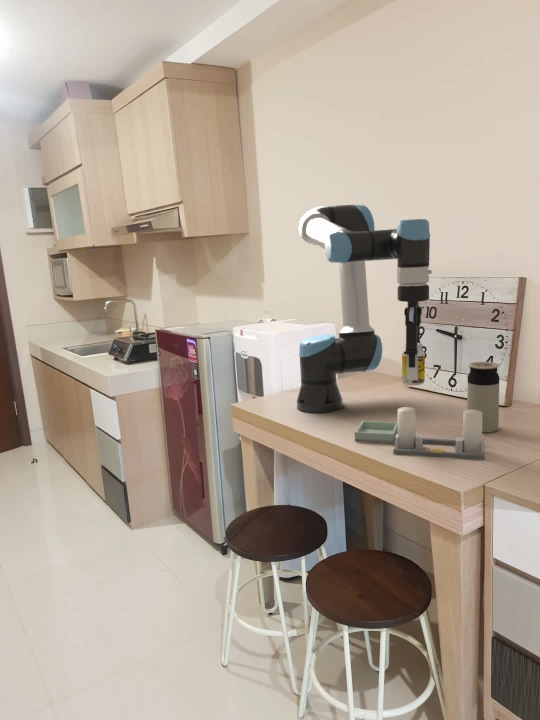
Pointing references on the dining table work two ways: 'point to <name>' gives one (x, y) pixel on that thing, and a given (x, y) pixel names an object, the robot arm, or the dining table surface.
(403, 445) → the twin cylinder holder
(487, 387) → the travel mug
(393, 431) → the tray
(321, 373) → the robot arm
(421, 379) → the supplement bottle
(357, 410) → the dining table surface
